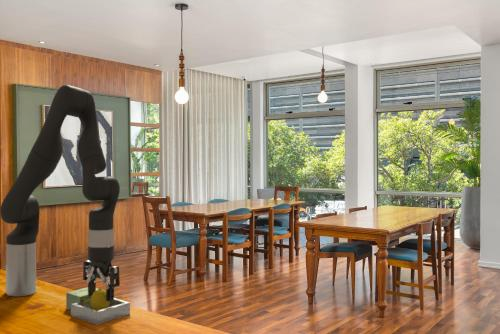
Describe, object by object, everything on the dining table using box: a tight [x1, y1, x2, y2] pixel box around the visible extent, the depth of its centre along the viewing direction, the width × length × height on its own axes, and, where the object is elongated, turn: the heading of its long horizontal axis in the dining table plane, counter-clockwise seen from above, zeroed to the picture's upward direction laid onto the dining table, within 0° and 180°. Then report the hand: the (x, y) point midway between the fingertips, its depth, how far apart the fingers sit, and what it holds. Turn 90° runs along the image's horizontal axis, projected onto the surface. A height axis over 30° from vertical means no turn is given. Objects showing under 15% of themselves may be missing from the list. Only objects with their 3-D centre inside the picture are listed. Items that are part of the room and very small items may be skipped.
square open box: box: [65, 286, 131, 326], centre depth 154 cm, size 19×12×5 cm, turn 53°
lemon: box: [90, 287, 110, 311], centre depth 152 cm, size 6×6×8 cm
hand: (100, 298), depth 152 cm, fingers open, 8 cm apart
